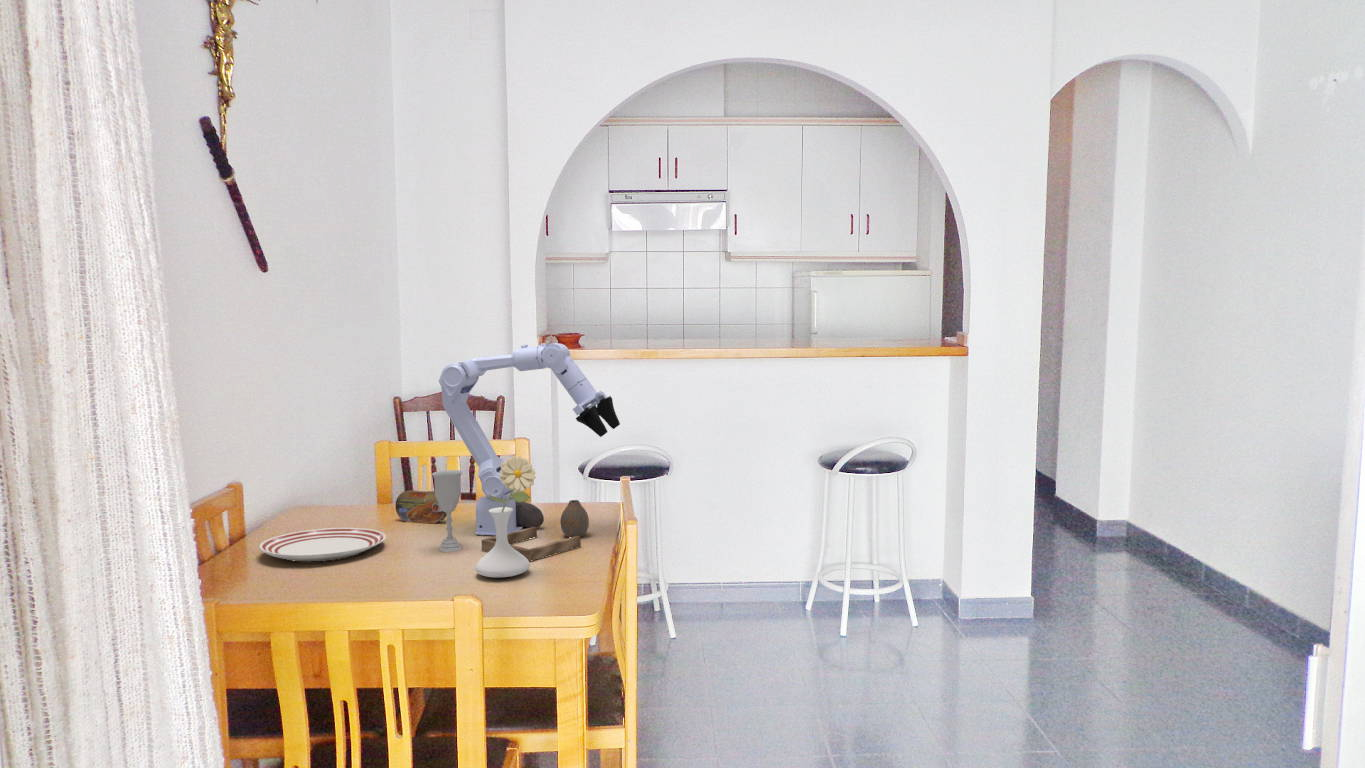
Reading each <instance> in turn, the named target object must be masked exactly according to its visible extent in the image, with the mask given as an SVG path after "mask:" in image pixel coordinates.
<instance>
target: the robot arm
mask: <svg viewBox="0 0 1365 768" xmlns="http://www.w3.org/2000/svg"><path fill="white" fill-rule="evenodd" d="M512 367H513V368H515V369H516V370H518V371H519V372H525V371H535V370H536V371H537V370H544V369H546V368H547V369H550V370H551V371H552V372H553V373H554V375H555V377H556V379H557V380H558V381H559V382H560V384H561V385H562V386H563V387H564V389H565V390H566V392H567V393H568V395H569V396H570V398H572V400H573V402H574V403H575V404H576V406H574V407H573V408H572V411H573V412H574V414H575V415H576V418H575V420H576V421H577V422H578V423H580V424H582V425H584V426H586V427H588V429H590V430H592V431H593V432H594V433H595V434H596V435H597V436H598V437H600V438H602V437H604V436H605V435H606V434H607V433H608V429H607V427H606V425H605V424H604V422H605V423H606V424H607V425H608V426H609V427H610V428H611V429H613V430H615V429H617V427H619V426H620V425H621V422H620V420H619V418H618V415H617V414H616V411H615V407H614V402H613V398H612V396H611V395H609V396H607V395H606V394H605V392H604V391H602V390H599V391H597V390H596V389H595V388H594V386H593V385H592V383H591V382H590V380H589V379H588V377H586V375H585V374H584V373H583V371H582V370H581V369H580V367H579V366H578V364H577V363H576V362H575V361H574V360H573V358H572V357H571V352H570V349H569V348H568V347H567V346H566V345H564V344H563V343H556V342H554V343H551V344H547V343H546V342H543V343H541V344H540V345H532V346H529V345H528V344H523V345H520V347H518V348H516V349H515V351H514V352H513V353H512V354H501V355H492V356H481V357H480V356H479V357H474V358H471V359H470V358H469V359H467V360H463V361H459V362H458V363H450V364H447V365H446V366H445V367H444V368H443V369H442V371H441V374H440V376H439V378H438V383H439V385H440V387H441V388H440V389H441V401H442V402H441V403H442V407H443V409H444V410H445V412H446V414H447V415H448V417H449V419H450V421H451V422H452V425H453V426H454V428H455V429H456V431H457V433H458V434H459V436H460V438H461V440H462V441H463V443H464V445H465V447H466V448H467V450H468V451H469V453H470V455H471V456H472V459H473V460H474V462H475V463H476V464H477V467H478V473H477V474H478V475H477V476H478V478H479V479H480V482H481V490H482V492H483V495H485V496H480V497H479V498H478V500H476V505H475V522H476V523H475V527H476V530H475V532H474V534H475V535H479V536H496V526H495V522H494V519H493V516H492V515H491V514H490V512H489V510H490V509H493V508H499V507H504V505H505V503H506V501H507V499H508V497H509V495H510V493H511V489H510V488H509V489H507V488H506V485H505V484H503V481H502V480H500V470H501V465H502V462H504V461H505V459H502V458H500V457H499V456H498V455H497V453H496V451H495V449H494V448H493V446H492V444H491V442H490V441H489V438H487V436H486V434H485V433H484V430H483V429H482V427H481V426H480V424H479V422H478V421H477V419H476V417H475V415H474V414H473V412H472V410H471V408H470V407H469V405H468V404H467V402H468V399H469V395H470V393H471V391H472V389H474V386H476V384H477V383H478V381H479V379H480V377H482V376H484V375H485V374H486V372H487V371H493V370H499V369H500V370H501V369H507V368H512ZM602 419H603V420H604V422H603V420H602ZM515 492H516V491H513V492H512V494H513V493H515ZM489 494H490V495H491V496H493V497H496V498H499V499H503V500H504V501H505V503H501V502H498V501H494V500H492V499H491V498H490V495H489ZM505 507H508V508H512V509H513V511H512V512H511V514H510V516H509V519H508V524H507V533H511V532H515V531H519V530H523V529H524V528H523V527H516V501H515V500H514V499H513V498H512V496H511V497H510V499H509V501H508V502H507V504H506V506H505Z"/></svg>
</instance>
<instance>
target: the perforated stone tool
mask: <svg viewBox="0 0 1365 768" xmlns="http://www.w3.org/2000/svg"><path fill="white" fill-rule="evenodd" d="M544 520H545V517H544V513H543V512H542V510H541V509H540V508H539V507H537V506H536V505H534V504H532V503H530V502H526V501H524V502H520V503H519V502H516V527H526V528H525V529H527V528H531V527H537V528H540V527H541V526H542V525H543V524H544Z"/></svg>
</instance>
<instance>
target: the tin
mask: <svg viewBox="0 0 1365 768" xmlns="http://www.w3.org/2000/svg"><path fill="white" fill-rule="evenodd" d="M395 500H396V501H395V506H394V507H395V511H396V514H397V516H398V517H399V518H400V520H402V521H403V522H406V523H414V524H415V523H417V524H418V523H419V524H437V523H439V522H442V521H443V520H444V519H447V513H446V512H443V511H442V509H441V507H440V505H439V503H438V501H437V499H436V496H435V490H404V491H403V492H401V493H400V494H399V495H398V496H397V498H396V499H395Z"/></svg>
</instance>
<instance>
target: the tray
mask: <svg viewBox="0 0 1365 768" xmlns="http://www.w3.org/2000/svg"><path fill="white" fill-rule="evenodd" d="M533 537H537V538H538V527H531V528H523V529H521V530H519V531H515V532H511V533H507V539H508V543H509V544H511V545H510V546H511V547H512V548H514V549H515V550H516V551H518V552H519V553H521V554H522V555H523V556H525V557H526V558H527V559H528V561H531V560H535V559H539V558H542V559H544V558H543V557H545V558H547V557H546V556H549V555H552V556H554V555H553V554H555V553H559V552H563V551H566V550H569V549H572V548H576V547H580V546H581V545H582V544H581V543H582V541H581V540H582V539H581V538H582V537H580V536H575V537H571V538H568V537H566V539H561V540H558V541H554V542H549V543H547V544H542V545H539V546H536V547H532V548H525V547H521V546H517V545H514V544H513V543H515V544H517V543H516V542H519V543H521V542H520V541H522V542H524V541H523V540H526V539H529V538H533ZM526 541H527V540H526ZM495 543H496V535H494V536H493V537H492V536H491V537H488V538H484V539H481V551H483V552H485V553H488V552H489V551H490V550H491V549H492V548H493V547H494V546H495ZM581 547H582V546H581ZM581 547H580V548H581ZM576 549H577V548H576ZM569 551H570V550H569ZM566 552H567V551H566ZM563 553H564V552H563ZM559 554H560V553H559ZM549 557H550V556H549ZM539 560H540V559H539ZM535 561H536V560H535Z"/></svg>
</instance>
